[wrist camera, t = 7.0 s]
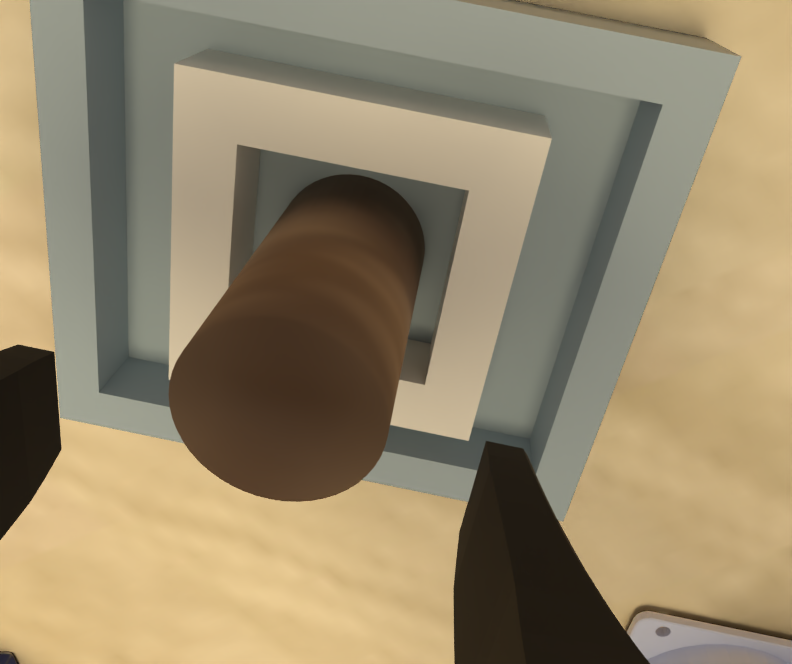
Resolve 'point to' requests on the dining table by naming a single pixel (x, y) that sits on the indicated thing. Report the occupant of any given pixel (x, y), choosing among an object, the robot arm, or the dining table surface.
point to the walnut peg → (306, 346)
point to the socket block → (369, 150)
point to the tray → (433, 204)
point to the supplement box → (7, 658)
